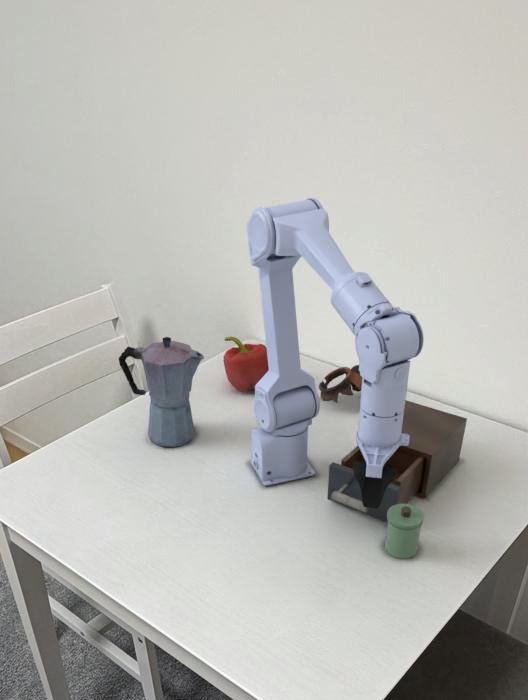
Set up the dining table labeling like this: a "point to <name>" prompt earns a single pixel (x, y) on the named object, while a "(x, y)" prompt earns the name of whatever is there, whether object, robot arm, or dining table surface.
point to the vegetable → (245, 364)
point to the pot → (403, 530)
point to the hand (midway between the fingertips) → (373, 490)
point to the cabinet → (433, 441)
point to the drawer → (398, 491)
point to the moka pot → (166, 388)
